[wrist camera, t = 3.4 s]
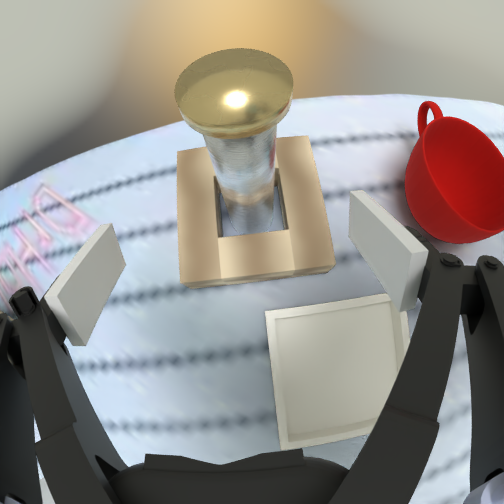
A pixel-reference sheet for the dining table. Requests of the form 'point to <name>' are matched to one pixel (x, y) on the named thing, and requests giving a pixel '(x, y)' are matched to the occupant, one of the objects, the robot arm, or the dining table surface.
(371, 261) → the robot arm
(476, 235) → the ceramic cup
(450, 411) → the dining table surface
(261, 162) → the pin
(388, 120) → the dining table surface
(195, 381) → the dining table surface
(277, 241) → the socket block
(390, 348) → the tray
